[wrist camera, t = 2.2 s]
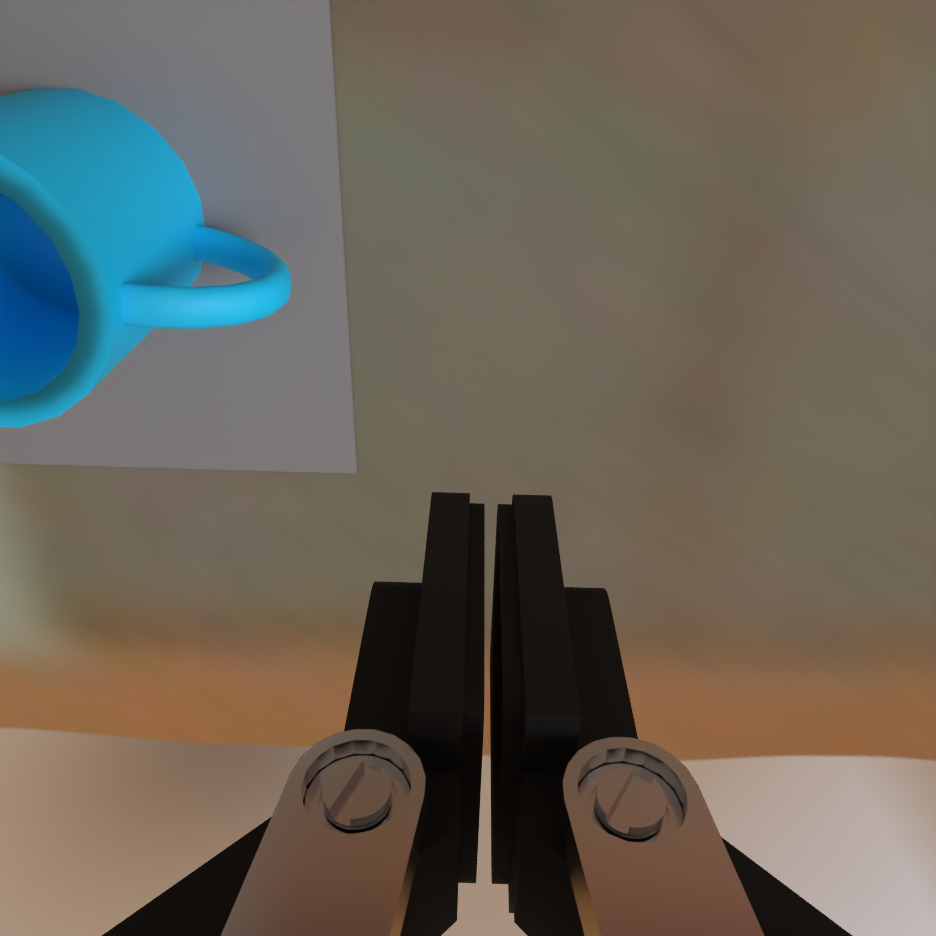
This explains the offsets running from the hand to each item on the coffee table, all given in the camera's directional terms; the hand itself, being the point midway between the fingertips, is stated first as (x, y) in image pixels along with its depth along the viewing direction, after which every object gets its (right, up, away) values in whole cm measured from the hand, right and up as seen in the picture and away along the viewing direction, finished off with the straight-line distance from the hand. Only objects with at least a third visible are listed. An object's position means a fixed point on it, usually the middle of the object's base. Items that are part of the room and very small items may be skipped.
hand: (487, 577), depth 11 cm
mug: (-12, +10, +16) cm, 23 cm away
